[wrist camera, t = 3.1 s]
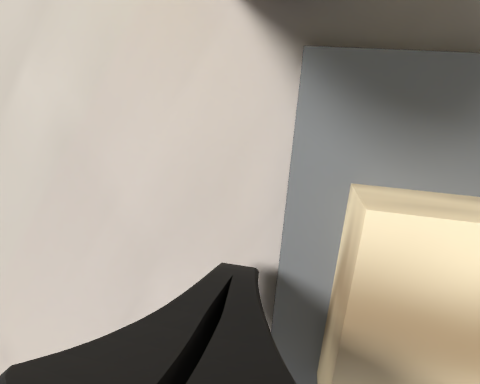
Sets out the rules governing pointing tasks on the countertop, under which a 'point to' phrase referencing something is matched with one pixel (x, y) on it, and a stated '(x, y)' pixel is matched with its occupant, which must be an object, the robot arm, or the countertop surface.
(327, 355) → the cream beveled panel
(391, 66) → the board
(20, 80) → the countertop surface
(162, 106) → the countertop surface
